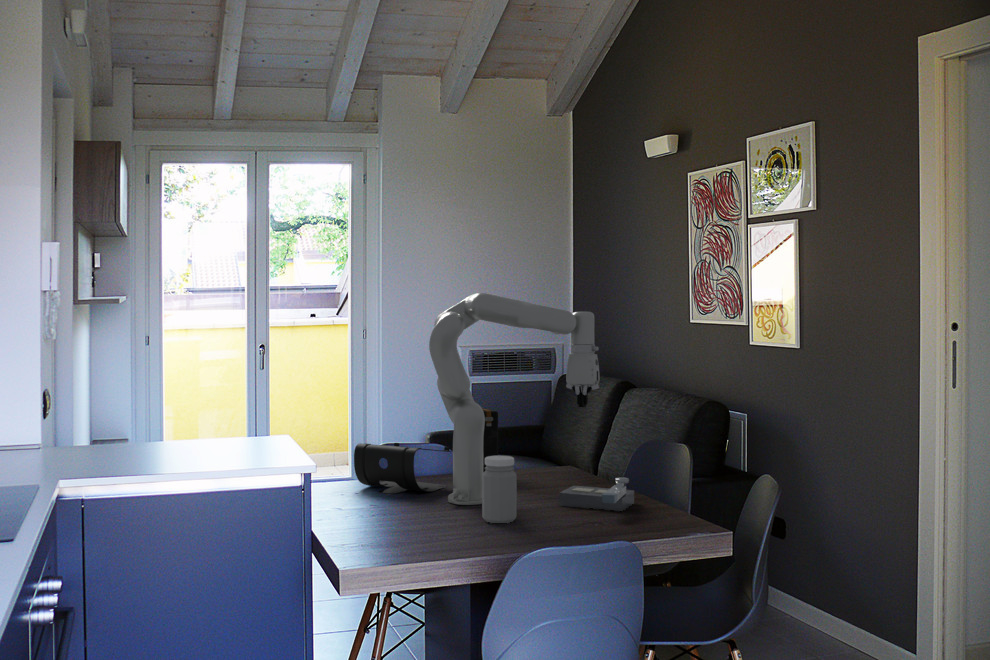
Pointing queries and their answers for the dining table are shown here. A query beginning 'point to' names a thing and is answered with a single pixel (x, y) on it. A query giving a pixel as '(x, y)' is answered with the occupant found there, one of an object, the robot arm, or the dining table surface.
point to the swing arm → (615, 491)
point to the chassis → (593, 498)
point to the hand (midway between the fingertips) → (582, 406)
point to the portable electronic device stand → (390, 468)
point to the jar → (499, 490)
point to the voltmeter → (490, 435)
